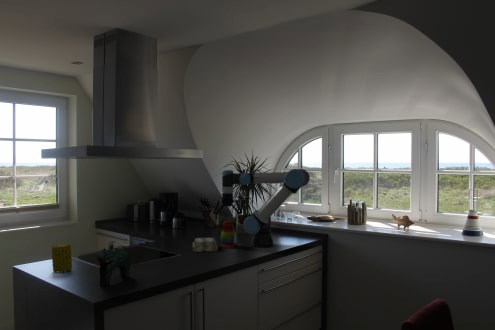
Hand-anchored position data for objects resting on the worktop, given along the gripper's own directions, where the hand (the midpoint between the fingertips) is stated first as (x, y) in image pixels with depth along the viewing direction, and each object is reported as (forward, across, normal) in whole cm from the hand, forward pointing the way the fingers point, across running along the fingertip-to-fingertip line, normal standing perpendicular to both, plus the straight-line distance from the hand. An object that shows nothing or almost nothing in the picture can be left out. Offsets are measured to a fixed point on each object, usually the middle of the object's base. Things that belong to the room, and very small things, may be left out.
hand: (227, 223), depth 267 cm
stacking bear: (+16, 0, 0) cm, 16 cm away
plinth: (+16, +16, +4) cm, 23 cm away
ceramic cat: (+16, +63, +68) cm, 94 cm away
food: (+16, +94, +44) cm, 105 cm away
